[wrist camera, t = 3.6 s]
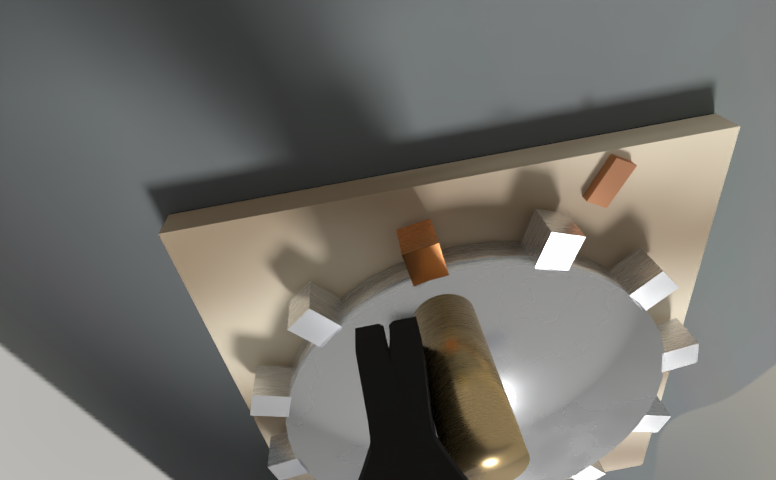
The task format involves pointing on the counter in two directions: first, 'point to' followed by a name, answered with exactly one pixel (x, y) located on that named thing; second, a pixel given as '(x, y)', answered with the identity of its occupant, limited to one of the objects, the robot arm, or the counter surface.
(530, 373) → the sprocket
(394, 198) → the sprocket base
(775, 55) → the counter surface
